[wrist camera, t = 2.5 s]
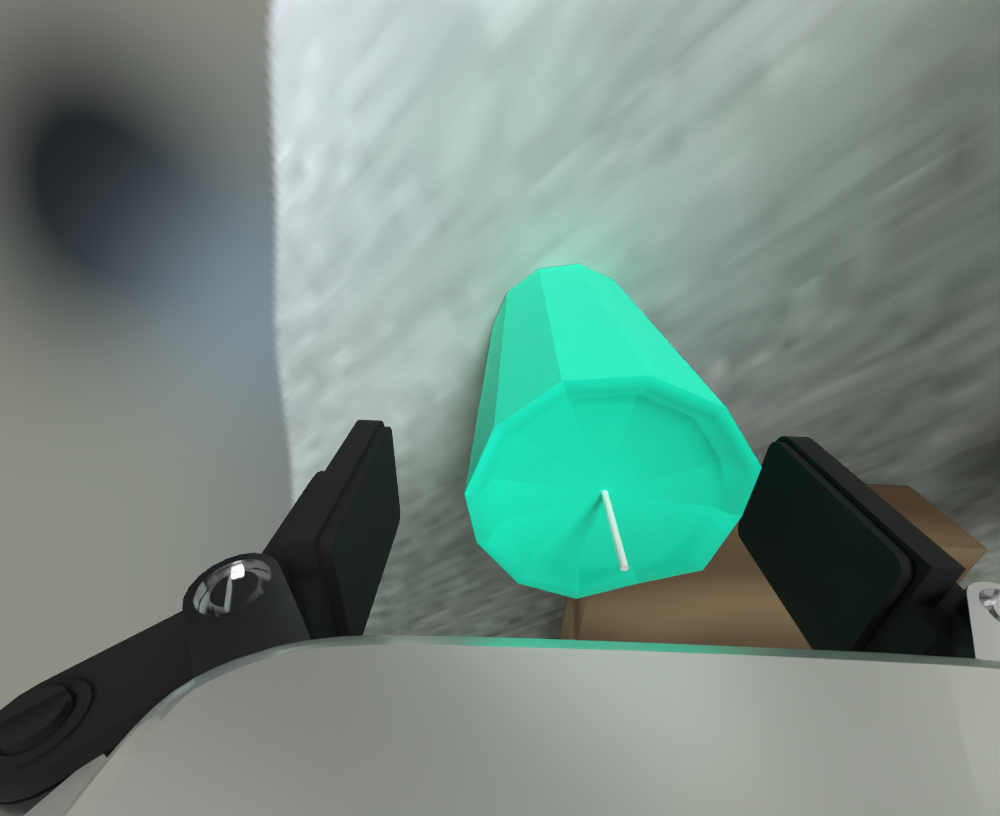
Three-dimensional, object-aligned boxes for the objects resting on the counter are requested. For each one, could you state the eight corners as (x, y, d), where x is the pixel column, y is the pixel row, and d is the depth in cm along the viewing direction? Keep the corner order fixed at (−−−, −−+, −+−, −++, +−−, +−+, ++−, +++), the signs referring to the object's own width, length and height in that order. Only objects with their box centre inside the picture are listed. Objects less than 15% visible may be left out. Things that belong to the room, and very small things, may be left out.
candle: (484, 389, 19) (443, 647, 9) (502, 252, 16) (473, 395, 6) (613, 407, 19) (723, 681, 9) (653, 275, 16) (888, 452, 6)
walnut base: (587, 470, 21) (601, 529, 18) (909, 486, 21) (987, 549, 17) (556, 654, 29) (561, 719, 26) (790, 668, 29) (827, 736, 25)
